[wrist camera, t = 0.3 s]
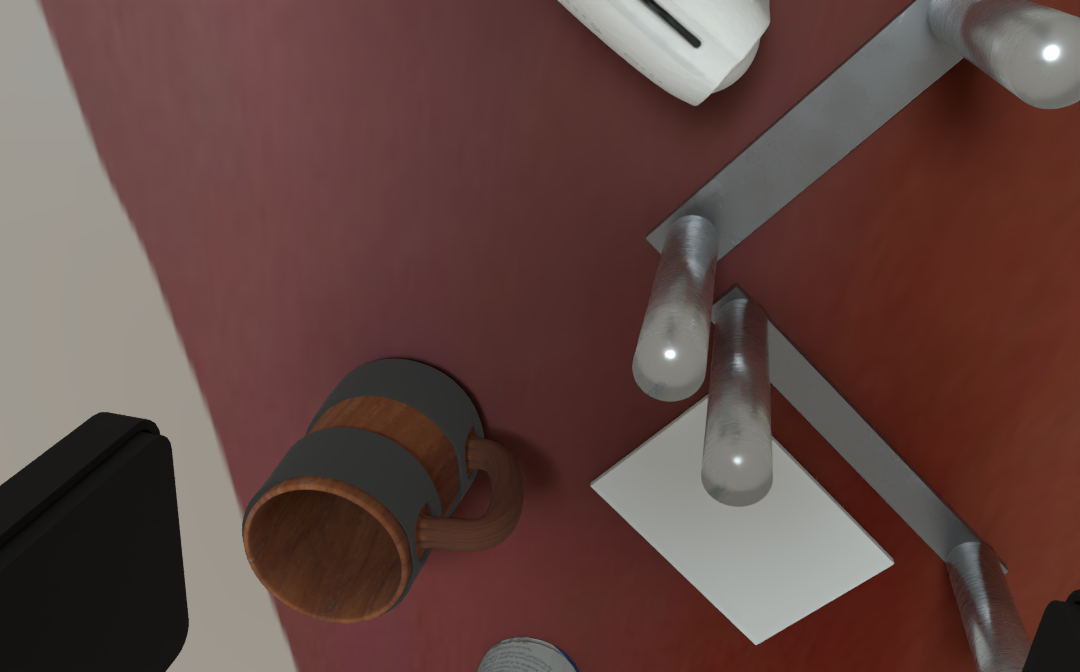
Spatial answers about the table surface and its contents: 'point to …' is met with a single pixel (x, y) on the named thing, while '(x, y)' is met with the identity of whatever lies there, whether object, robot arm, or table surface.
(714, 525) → the mat
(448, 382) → the mug
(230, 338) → the table surface
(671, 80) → the photo printer
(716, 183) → the gate
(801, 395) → the gate
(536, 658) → the spray paint can
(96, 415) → the robot arm
